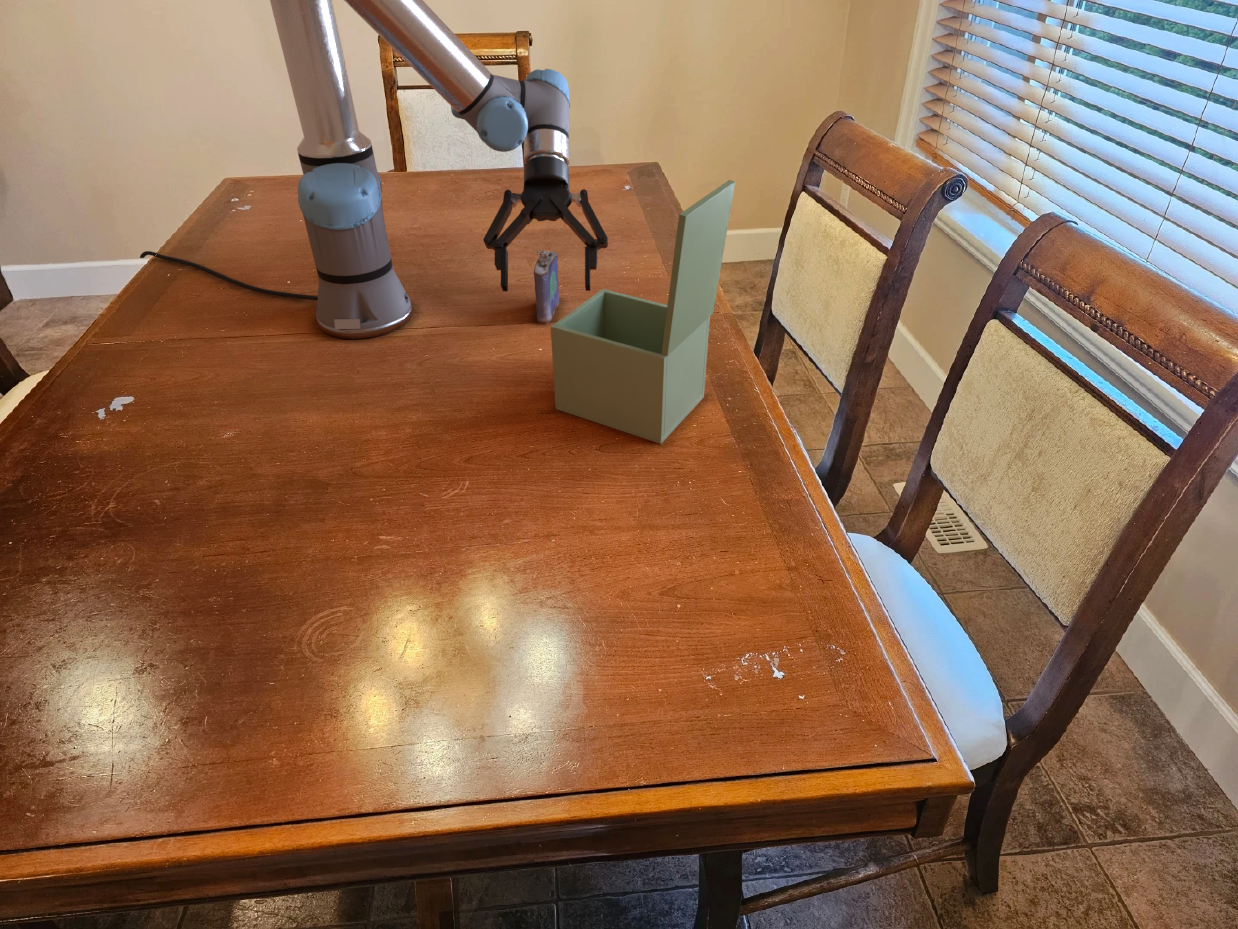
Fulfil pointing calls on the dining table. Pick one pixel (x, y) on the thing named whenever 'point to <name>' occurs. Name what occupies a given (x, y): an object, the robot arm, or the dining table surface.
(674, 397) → the chest
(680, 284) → the lid
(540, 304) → the flask
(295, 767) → the dining table surface
